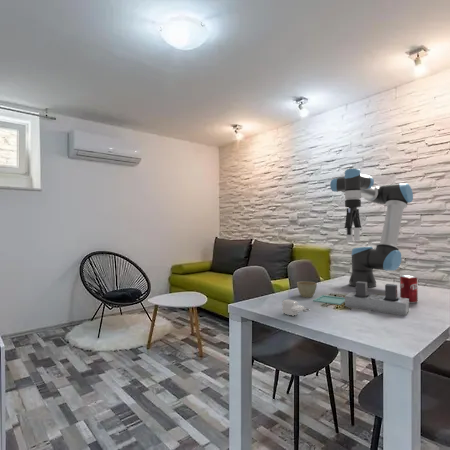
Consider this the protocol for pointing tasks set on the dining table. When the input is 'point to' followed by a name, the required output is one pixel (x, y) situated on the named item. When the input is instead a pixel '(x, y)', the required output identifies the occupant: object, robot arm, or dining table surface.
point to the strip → (380, 301)
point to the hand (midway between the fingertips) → (353, 240)
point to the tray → (330, 299)
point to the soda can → (409, 288)
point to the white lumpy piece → (292, 307)
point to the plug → (361, 289)
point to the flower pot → (306, 288)
